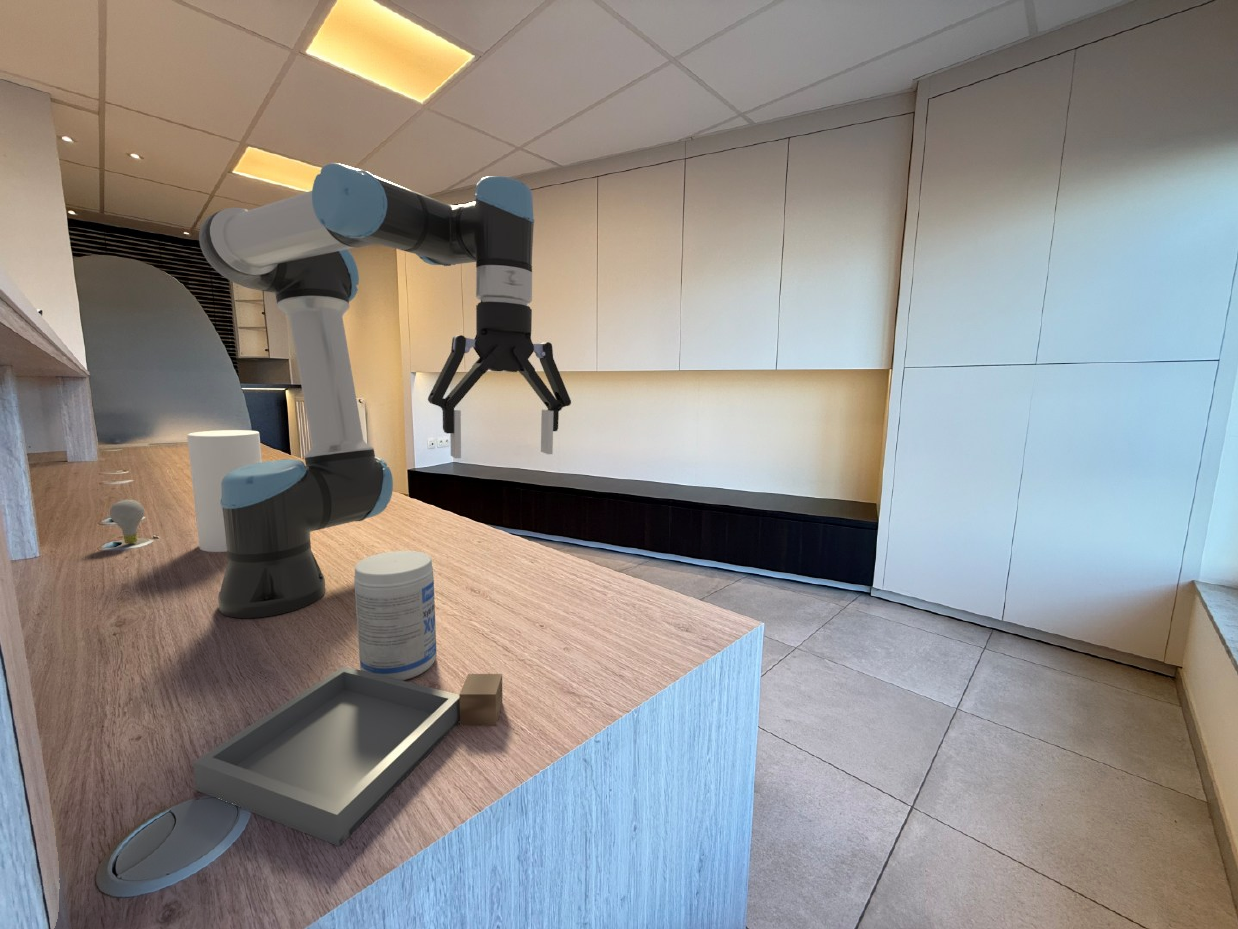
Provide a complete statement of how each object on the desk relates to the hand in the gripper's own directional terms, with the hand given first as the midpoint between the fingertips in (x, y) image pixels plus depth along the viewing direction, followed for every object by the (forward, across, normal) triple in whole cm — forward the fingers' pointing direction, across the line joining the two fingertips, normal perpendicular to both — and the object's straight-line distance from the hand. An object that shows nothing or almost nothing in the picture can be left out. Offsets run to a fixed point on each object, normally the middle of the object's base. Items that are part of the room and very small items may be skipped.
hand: (503, 455), depth 74 cm
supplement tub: (+28, -15, -3) cm, 32 cm away
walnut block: (+28, -8, -18) cm, 34 cm away
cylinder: (+29, -40, +67) cm, 83 cm away
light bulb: (+30, -59, +76) cm, 100 cm away
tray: (+28, -23, -17) cm, 40 cm away
